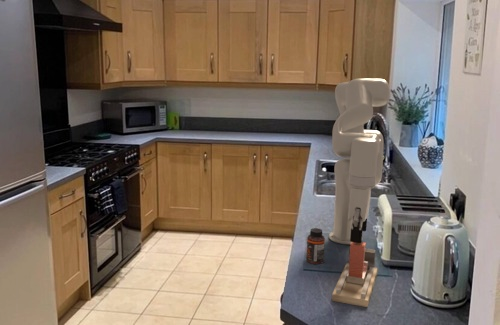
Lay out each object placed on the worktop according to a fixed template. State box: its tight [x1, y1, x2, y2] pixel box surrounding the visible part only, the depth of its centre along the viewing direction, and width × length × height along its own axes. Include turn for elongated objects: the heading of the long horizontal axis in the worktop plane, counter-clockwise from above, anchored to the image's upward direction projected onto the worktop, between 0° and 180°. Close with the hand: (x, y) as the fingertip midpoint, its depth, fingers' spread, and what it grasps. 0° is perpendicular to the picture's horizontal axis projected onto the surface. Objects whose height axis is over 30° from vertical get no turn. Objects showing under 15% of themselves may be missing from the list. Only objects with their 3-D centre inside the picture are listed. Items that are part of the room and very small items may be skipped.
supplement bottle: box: [305, 227, 326, 265], centre depth 166 cm, size 6×6×11 cm
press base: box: [331, 247, 378, 308], centre depth 148 cm, size 24×10×8 cm, turn 160°
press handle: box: [347, 242, 368, 285], centre depth 148 cm, size 8×5×12 cm, turn 160°
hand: (358, 236), depth 145 cm, fingers open, 9 cm apart
